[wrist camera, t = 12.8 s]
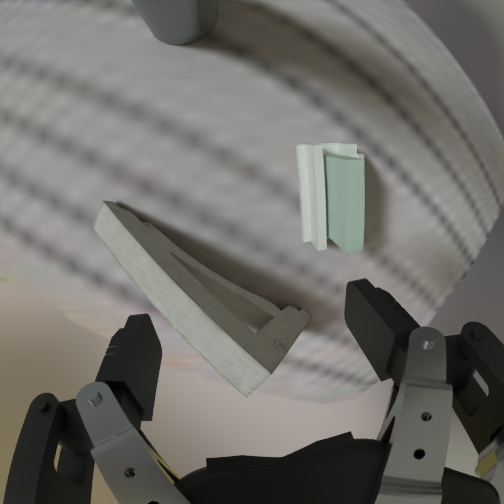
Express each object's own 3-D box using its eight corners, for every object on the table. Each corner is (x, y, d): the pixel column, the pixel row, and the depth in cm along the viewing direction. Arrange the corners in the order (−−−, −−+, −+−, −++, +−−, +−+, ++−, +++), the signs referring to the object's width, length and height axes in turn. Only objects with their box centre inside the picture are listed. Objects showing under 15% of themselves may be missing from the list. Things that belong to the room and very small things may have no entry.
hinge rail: (295, 144, 35) (306, 145, 30) (347, 142, 35) (364, 144, 31) (302, 240, 40) (312, 253, 36) (349, 232, 41) (364, 244, 36)
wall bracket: (191, 212, 53) (311, 316, 45) (181, 230, 54) (295, 333, 46) (103, 200, 33) (271, 374, 24) (91, 227, 34) (246, 397, 26)
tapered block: (317, 154, 35) (344, 159, 27) (339, 153, 35) (369, 159, 27) (321, 230, 39) (345, 253, 31) (341, 227, 39) (368, 249, 31)
